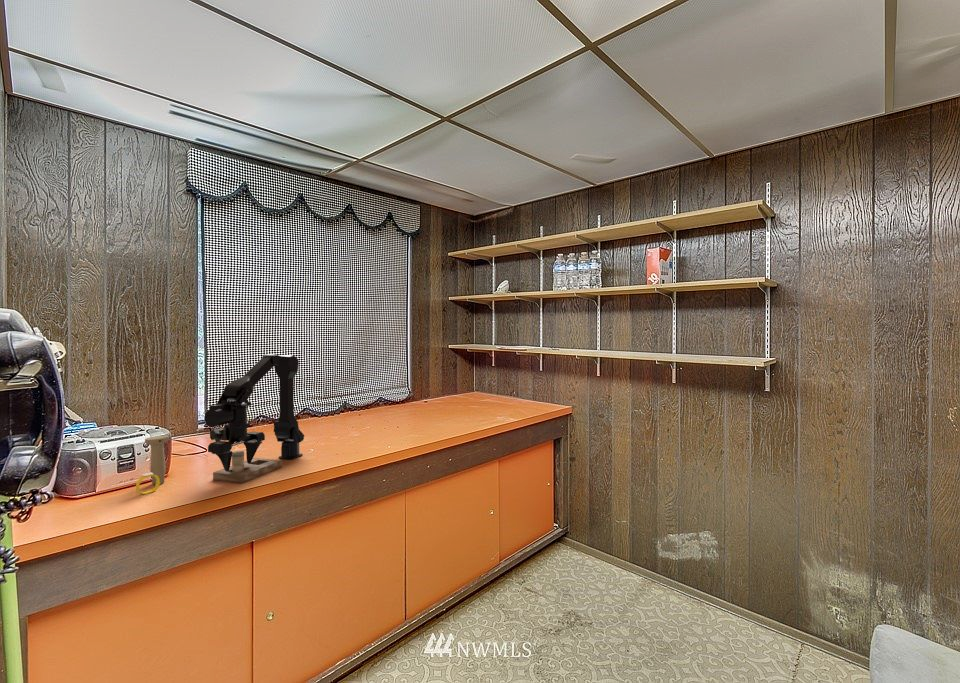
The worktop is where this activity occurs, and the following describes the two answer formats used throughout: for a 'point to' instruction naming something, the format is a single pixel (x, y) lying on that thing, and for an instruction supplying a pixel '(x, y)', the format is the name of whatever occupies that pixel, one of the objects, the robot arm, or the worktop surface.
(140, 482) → the yellow round part
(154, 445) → the handle
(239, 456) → the pin
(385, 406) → the worktop surface
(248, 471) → the bore block
